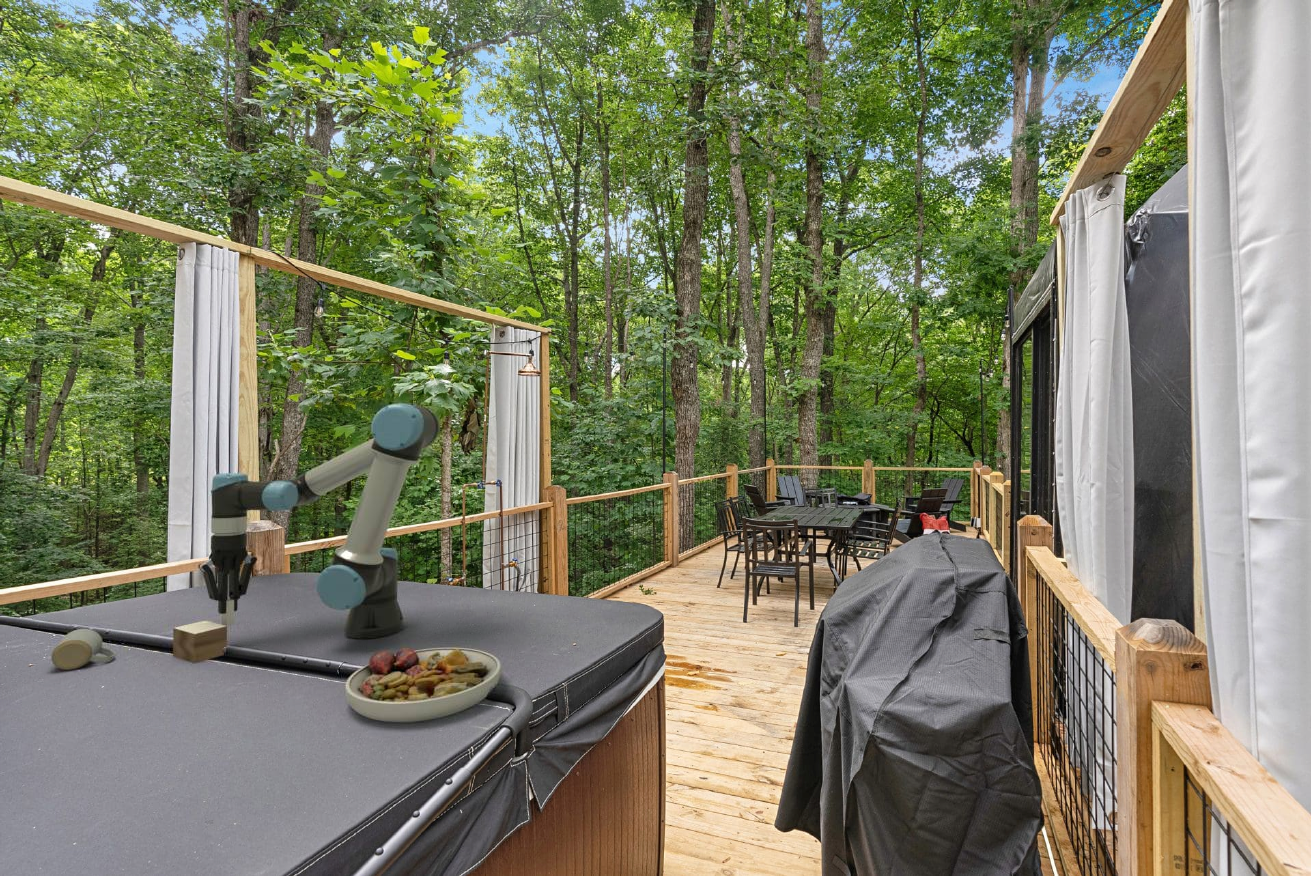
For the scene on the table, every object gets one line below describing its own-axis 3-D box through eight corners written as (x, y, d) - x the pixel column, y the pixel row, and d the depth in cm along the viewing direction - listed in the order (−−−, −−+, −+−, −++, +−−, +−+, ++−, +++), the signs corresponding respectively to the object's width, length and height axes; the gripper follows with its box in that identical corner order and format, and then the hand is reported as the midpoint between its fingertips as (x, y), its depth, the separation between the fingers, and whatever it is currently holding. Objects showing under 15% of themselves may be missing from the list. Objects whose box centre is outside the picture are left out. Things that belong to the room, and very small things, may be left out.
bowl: (527, 678, 133) (527, 643, 133) (437, 741, 105) (437, 696, 105) (418, 662, 143) (418, 629, 143) (309, 716, 115) (309, 675, 115)
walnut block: (226, 654, 148) (227, 626, 148) (194, 663, 141) (194, 634, 141) (205, 648, 152) (205, 620, 152) (173, 656, 146) (173, 627, 146)
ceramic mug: (48, 674, 134) (49, 640, 134) (59, 663, 141) (60, 630, 141) (111, 665, 140) (112, 633, 140) (118, 655, 147) (119, 624, 147)
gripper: (248, 529, 160) (247, 616, 160) (192, 535, 149) (190, 629, 149) (264, 531, 157) (262, 620, 156) (207, 537, 145) (206, 634, 145)
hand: (227, 625), depth 153 cm, fingers closed
